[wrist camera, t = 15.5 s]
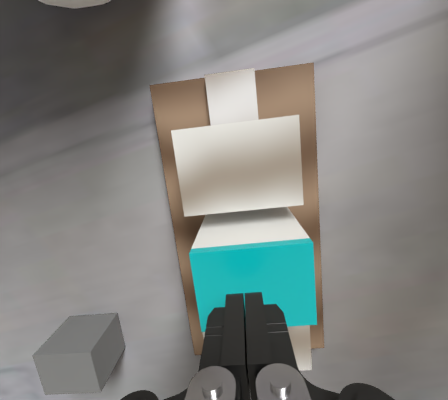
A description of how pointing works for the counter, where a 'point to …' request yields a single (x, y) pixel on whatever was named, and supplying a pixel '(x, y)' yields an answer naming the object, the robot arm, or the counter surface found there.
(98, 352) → the grey block
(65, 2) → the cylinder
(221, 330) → the robot arm
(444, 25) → the counter surface
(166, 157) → the board
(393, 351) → the counter surface
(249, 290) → the block
